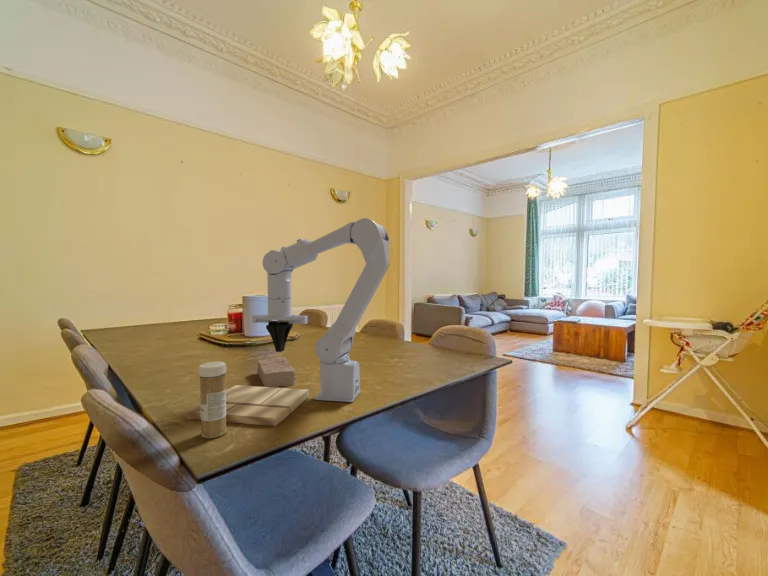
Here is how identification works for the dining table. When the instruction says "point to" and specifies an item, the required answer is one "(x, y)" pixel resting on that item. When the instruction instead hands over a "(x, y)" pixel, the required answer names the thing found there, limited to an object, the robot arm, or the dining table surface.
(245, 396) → the plank
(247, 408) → the floor row
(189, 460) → the dining table surface
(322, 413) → the dining table surface
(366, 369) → the dining table surface
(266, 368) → the brick
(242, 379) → the dining table surface
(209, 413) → the sprinkles bottle
